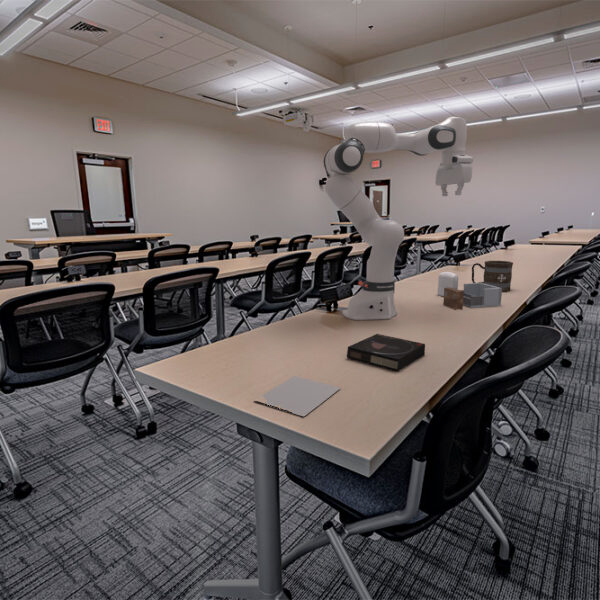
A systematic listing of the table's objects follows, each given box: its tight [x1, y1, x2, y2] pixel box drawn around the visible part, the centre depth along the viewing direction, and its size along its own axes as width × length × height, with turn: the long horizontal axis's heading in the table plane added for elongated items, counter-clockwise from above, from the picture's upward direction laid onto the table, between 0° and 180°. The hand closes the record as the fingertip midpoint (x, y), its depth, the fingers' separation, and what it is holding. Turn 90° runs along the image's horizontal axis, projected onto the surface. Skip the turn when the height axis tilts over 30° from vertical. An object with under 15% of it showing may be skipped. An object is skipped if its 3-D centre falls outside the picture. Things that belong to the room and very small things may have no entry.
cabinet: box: [460, 282, 503, 309], centre depth 184 cm, size 15×15×8 cm
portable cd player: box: [346, 333, 426, 373], centre depth 120 cm, size 16×17×4 cm
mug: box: [471, 260, 514, 294], centre depth 214 cm, size 20×14×15 cm
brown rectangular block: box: [442, 287, 464, 310], centre depth 178 cm, size 3×10×8 cm, turn 13°
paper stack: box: [261, 375, 341, 417], centre depth 102 cm, size 23×25×1 cm
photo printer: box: [437, 271, 459, 297], centre depth 199 cm, size 10×4×12 cm, turn 28°
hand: (451, 195), depth 166 cm, fingers open, 8 cm apart
